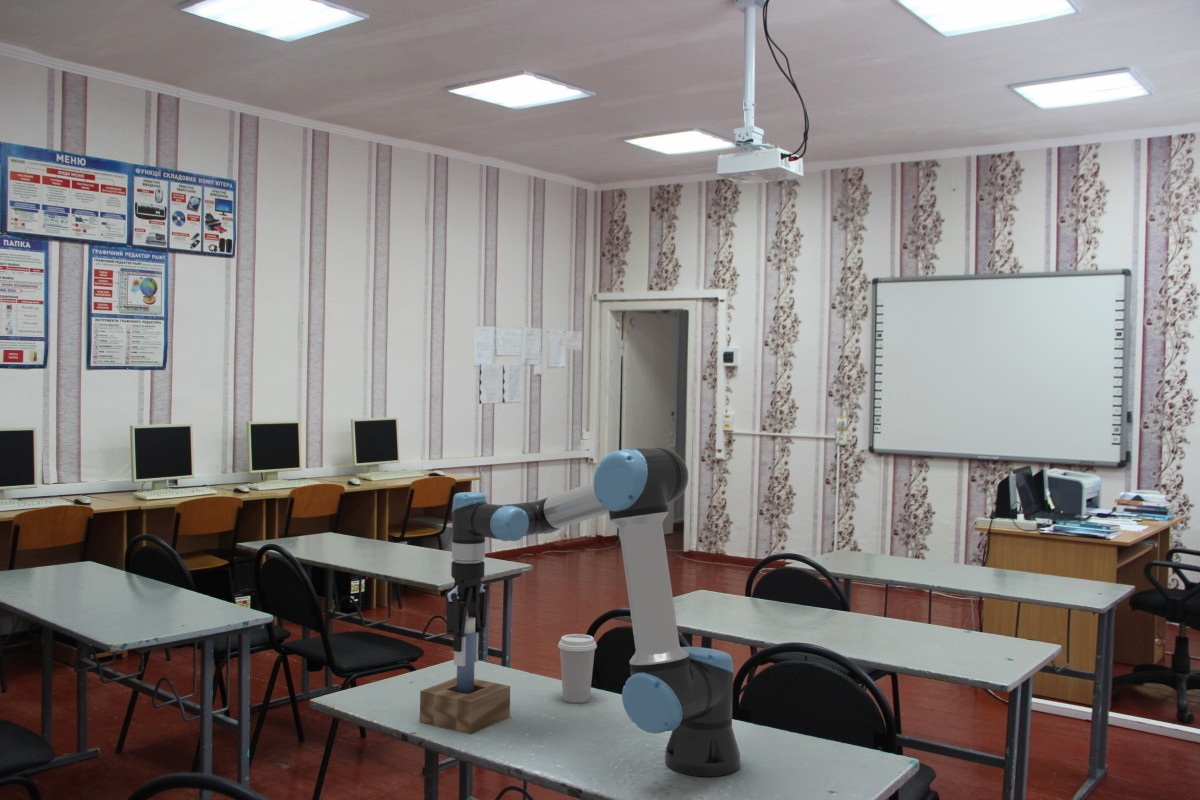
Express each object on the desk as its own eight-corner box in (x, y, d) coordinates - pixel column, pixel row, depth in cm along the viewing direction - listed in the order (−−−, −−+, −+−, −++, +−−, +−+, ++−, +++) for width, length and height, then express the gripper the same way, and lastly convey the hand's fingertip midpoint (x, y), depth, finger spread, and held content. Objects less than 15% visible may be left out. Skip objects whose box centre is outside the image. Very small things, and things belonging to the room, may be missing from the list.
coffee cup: (603, 697, 246) (604, 636, 246) (581, 707, 238) (583, 644, 238) (571, 691, 251) (572, 631, 251) (549, 700, 243) (550, 638, 243)
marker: (477, 696, 228) (479, 617, 228) (466, 700, 225) (468, 621, 225) (463, 693, 230) (465, 615, 230) (452, 697, 227) (454, 618, 227)
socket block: (509, 716, 230) (510, 686, 230) (470, 734, 218) (471, 702, 218) (460, 705, 238) (460, 676, 238) (419, 721, 225) (420, 690, 225)
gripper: (477, 554, 237) (475, 652, 237) (430, 563, 222) (428, 668, 222) (503, 557, 233) (501, 657, 233) (457, 567, 218) (455, 674, 218)
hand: (466, 662), depth 228 cm, fingers closed on marker, 4 cm apart
